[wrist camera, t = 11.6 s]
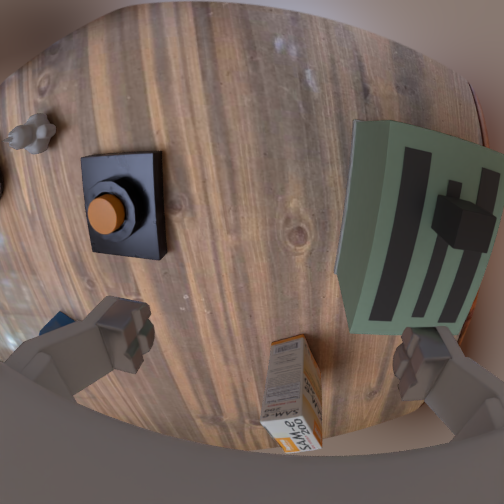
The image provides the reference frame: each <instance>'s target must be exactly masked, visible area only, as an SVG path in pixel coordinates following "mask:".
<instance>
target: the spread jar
mask: <svg viewBox="0 0 504 504" xmlns="http://www.w3.org/2000/svg"><path fill="white" fill-rule="evenodd" d="M2 193H3V177H2V173H1V170H0V198H1V196H2Z"/></svg>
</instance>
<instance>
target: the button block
mask: <svg viewBox="0 0 504 504" xmlns="http://www.w3.org/2000/svg"><path fill="white" fill-rule="evenodd" d="M81 169H82V181H83V191H84V200H85V210H86V217H87V222H88V229H89V235H90V240H91V246H92V251H93V252H97V253H104V254H112V255H120V256H128V257H136V258H144V259H152V260H161V259H162V258H163V257H164V256H165V254H166V253H167V243H166V230H165V216H164V198H163V172H162V151H139V152H122V153H108V154H97V155H89V156H86V157H82V158H81ZM105 194H112V195H114V196H116V197H117V198H119V199H120V201H121V202H122V204H123V206H124V209H125V219H124V222H123V224H122V225H121V226H120V227H119V228H118V229H116V230H115V231H113V232H112V233H110V234H101V233H99V232H97V231H96V230H95V229H94V228H93V227H92V225H91V224H90V221H89V218H88V208H89V205H90V203H91V202H92V201H93V200H94V199H96V198H98V197H100V196H102V195H105Z"/></svg>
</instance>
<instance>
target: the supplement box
mask: <svg viewBox="0 0 504 504" xmlns="http://www.w3.org/2000/svg"><path fill="white" fill-rule="evenodd" d="M260 423H261V424H262V426H263V427H264V428H265V429H266V430H267V432H268V433H269V434H270V435H271V437H272V438H273V439H274V440H275V441H276V442H277V444H278V445H279V446H280V447H281V448H282V449H283V451H284V452H285V453H295V452H303V451H310V450H316V449H321V448H322V391H321V372H320V370H319V367H318V365H317V363H316V361H315V359H314V357H313V355H312V353H311V351H310V349H309V346H308V343H307V341H306V338H305V336H304V334H301V335H298V336H294V337H291V338H287V339H283V340H280V341H276V342H272V344H271V351H270V358H269V365H268V372H267V378H266V385H265V391H264V397H263V404H262V410H261V416H260Z"/></svg>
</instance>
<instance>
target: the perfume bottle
mask: <svg viewBox="0 0 504 504" xmlns="http://www.w3.org/2000/svg"><path fill="white" fill-rule="evenodd" d="M73 322H76V321H74V320H72V319H71V318H69V317H68V316H66V315H65V314H63V313H62V312H60V311H59V312H58V313H57V314H56V315H55V316H54V317H53V318H52V319H51V320H50V321H49V322H48V323H47V324H46V325H45V326H44V327H43V328H42V329H41V330H40V333H39V336H40V335H43V334H45V333H48V332H50V331H53V330H55V329H58V328H61V327H63V326H66V325H68V324H71V323H73Z"/></svg>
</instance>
